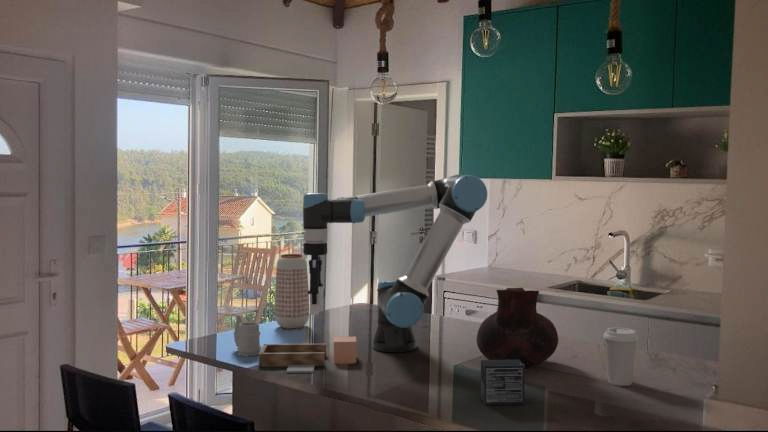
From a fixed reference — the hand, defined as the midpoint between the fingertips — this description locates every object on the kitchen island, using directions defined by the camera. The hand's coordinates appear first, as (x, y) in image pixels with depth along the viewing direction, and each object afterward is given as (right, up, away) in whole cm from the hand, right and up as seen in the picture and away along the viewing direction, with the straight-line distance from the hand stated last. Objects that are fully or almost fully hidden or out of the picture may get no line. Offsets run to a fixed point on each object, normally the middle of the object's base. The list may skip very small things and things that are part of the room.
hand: (315, 310), depth 220 cm
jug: (+63, -17, -3) cm, 65 cm away
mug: (-24, -16, +11) cm, 31 cm away
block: (+9, -16, +1) cm, 19 cm away
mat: (-4, -17, -9) cm, 19 cm away
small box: (+53, -19, -38) cm, 68 cm away
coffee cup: (+89, -18, -22) cm, 93 cm away
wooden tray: (-6, -16, +1) cm, 17 cm away
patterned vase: (-14, -13, +50) cm, 53 cm away
